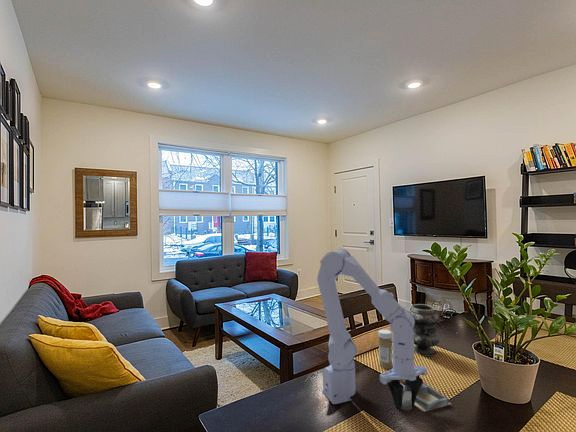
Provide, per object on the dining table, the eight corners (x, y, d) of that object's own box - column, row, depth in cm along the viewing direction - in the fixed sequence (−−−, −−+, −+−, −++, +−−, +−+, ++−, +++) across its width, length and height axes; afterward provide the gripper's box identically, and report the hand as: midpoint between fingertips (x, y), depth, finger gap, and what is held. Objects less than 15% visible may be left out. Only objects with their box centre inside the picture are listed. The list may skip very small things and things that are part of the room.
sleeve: (403, 416, 86) (402, 394, 86) (392, 407, 90) (391, 386, 90) (416, 413, 87) (416, 391, 87) (405, 403, 92) (405, 383, 92)
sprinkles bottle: (395, 369, 112) (394, 331, 112) (386, 373, 110) (386, 334, 110) (384, 365, 116) (384, 328, 116) (376, 368, 113) (375, 330, 113)
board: (423, 416, 86) (423, 405, 86) (386, 386, 101) (386, 377, 101) (452, 408, 89) (451, 398, 89) (412, 381, 104) (412, 372, 104)
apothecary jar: (442, 359, 119) (441, 312, 119) (408, 356, 123) (407, 309, 123) (437, 347, 131) (436, 303, 131) (406, 344, 134) (405, 301, 135)
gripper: (390, 366, 83) (391, 418, 82) (434, 357, 87) (435, 406, 87) (374, 355, 89) (375, 403, 89) (416, 347, 94) (417, 393, 94)
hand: (404, 404), depth 89 cm, fingers closed on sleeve, 4 cm apart
